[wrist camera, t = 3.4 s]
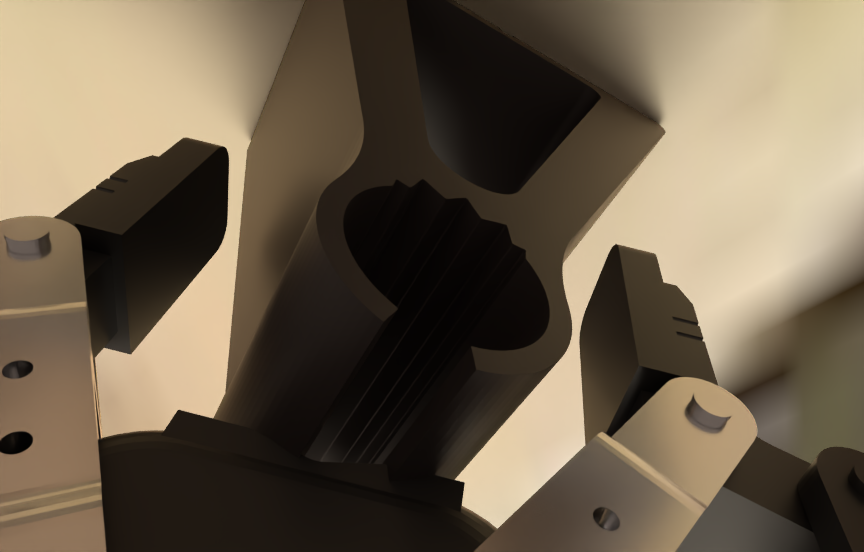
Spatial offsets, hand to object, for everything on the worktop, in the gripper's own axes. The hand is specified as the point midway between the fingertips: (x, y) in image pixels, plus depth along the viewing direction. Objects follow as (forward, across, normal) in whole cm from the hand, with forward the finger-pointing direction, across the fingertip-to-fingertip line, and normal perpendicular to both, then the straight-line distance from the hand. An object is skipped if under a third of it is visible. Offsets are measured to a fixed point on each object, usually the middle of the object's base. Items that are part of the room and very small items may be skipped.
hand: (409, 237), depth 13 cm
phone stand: (+6, 0, 0) cm, 6 cm away
